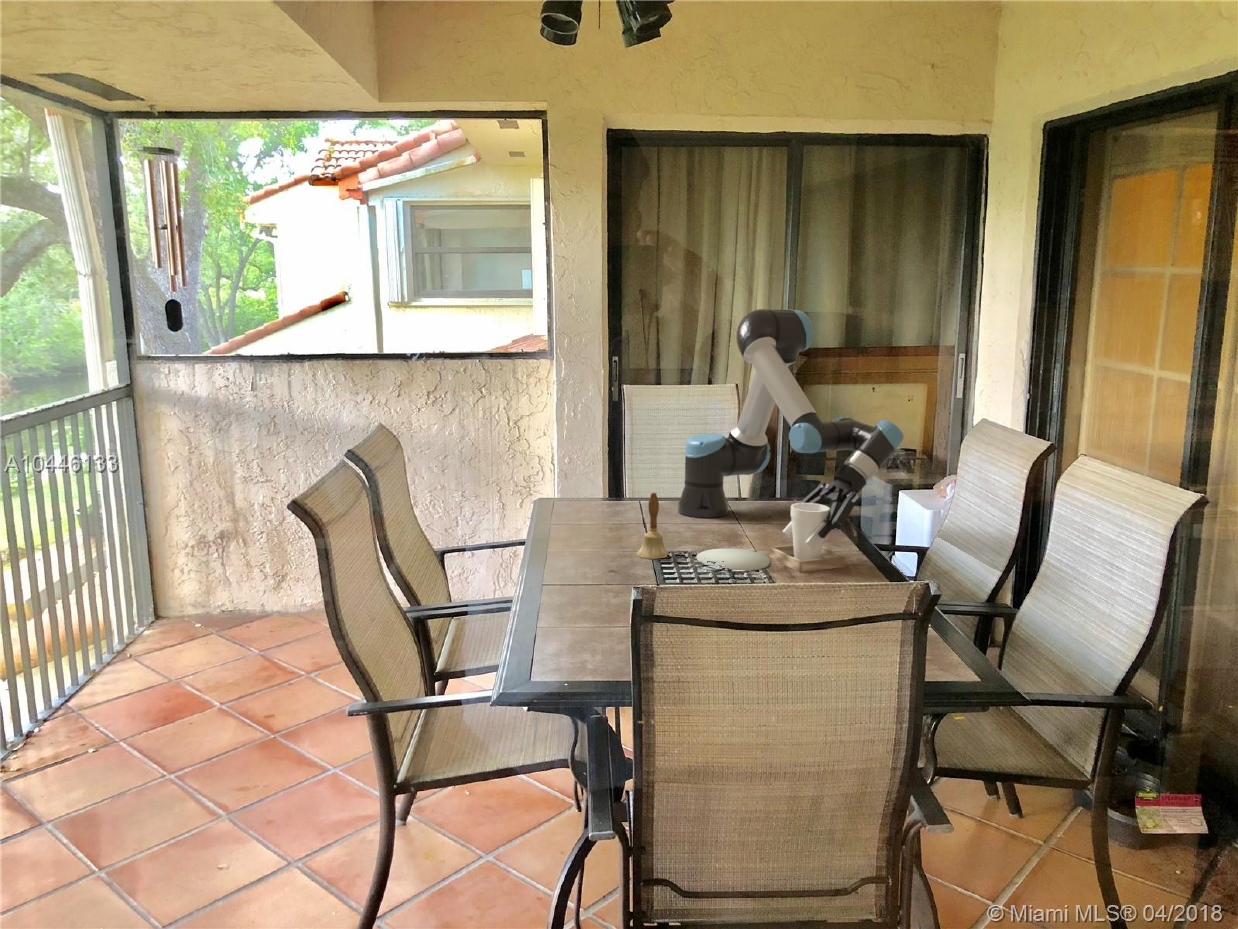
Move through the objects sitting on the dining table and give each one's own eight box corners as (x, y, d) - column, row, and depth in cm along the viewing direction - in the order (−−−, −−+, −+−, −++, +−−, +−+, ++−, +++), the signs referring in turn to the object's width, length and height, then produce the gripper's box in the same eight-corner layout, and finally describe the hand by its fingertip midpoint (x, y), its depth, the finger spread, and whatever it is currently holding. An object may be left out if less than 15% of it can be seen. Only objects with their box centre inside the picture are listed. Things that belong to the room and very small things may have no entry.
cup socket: (768, 556, 228) (769, 547, 227) (814, 551, 233) (814, 542, 233) (799, 572, 216) (799, 562, 215) (846, 566, 221) (847, 556, 220)
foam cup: (826, 565, 219) (830, 513, 216) (787, 562, 221) (790, 510, 218) (825, 554, 228) (829, 504, 226) (788, 551, 230) (791, 501, 227)
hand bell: (659, 561, 222) (660, 498, 219) (630, 556, 226) (631, 493, 224) (675, 554, 229) (677, 492, 226) (647, 548, 233) (648, 488, 231)
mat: (681, 559, 225) (681, 556, 225) (729, 546, 236) (729, 544, 236) (736, 576, 211) (736, 573, 211) (784, 562, 223) (784, 560, 223)
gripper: (892, 492, 217) (832, 562, 214) (836, 474, 237) (781, 538, 234) (875, 471, 214) (815, 542, 211) (820, 455, 234) (764, 519, 231)
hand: (797, 540), depth 222 cm, fingers closed on foam cup, 9 cm apart
